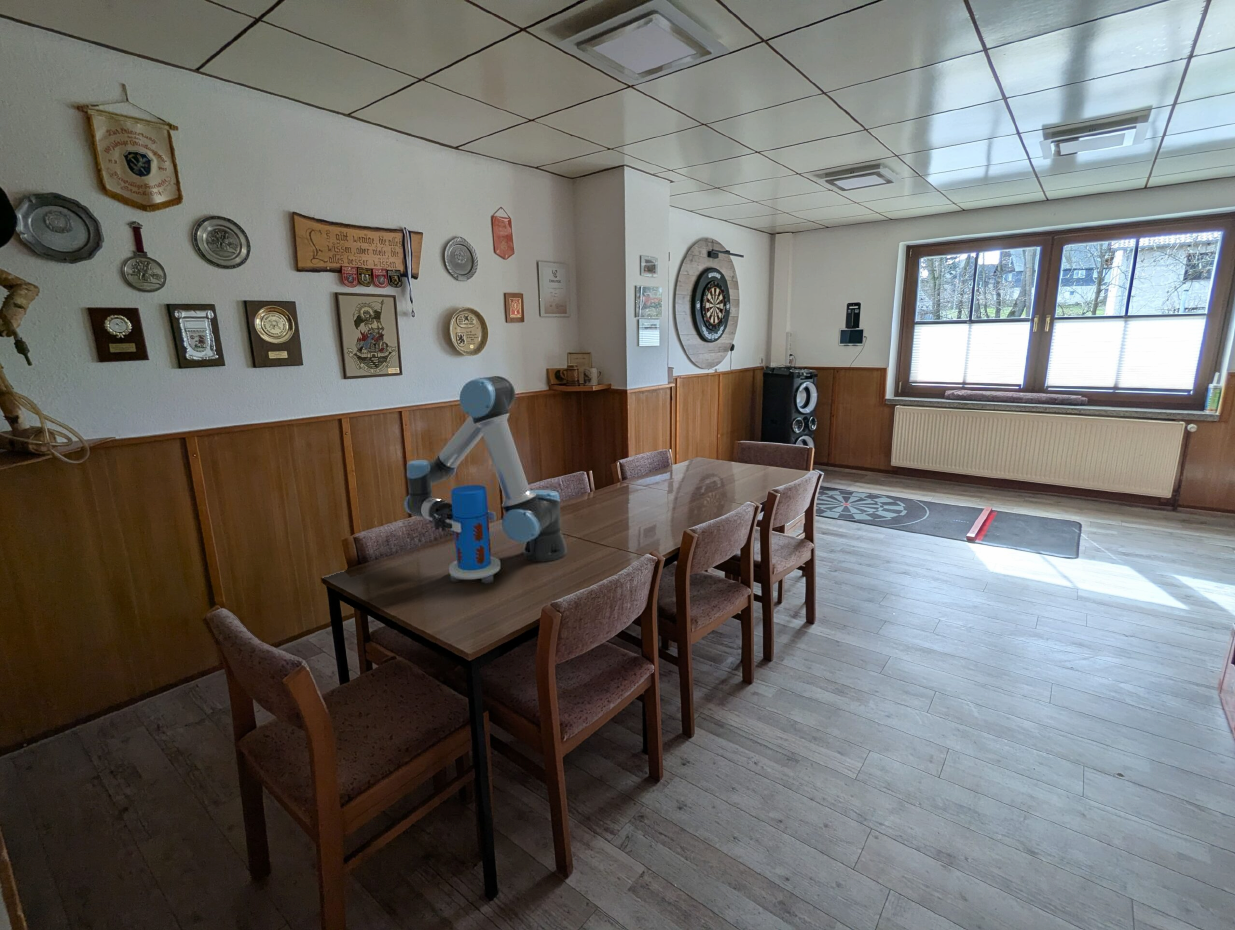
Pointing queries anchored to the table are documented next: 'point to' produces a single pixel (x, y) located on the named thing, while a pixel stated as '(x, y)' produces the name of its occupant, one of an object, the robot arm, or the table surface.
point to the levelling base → (475, 572)
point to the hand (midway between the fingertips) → (478, 522)
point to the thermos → (471, 527)
